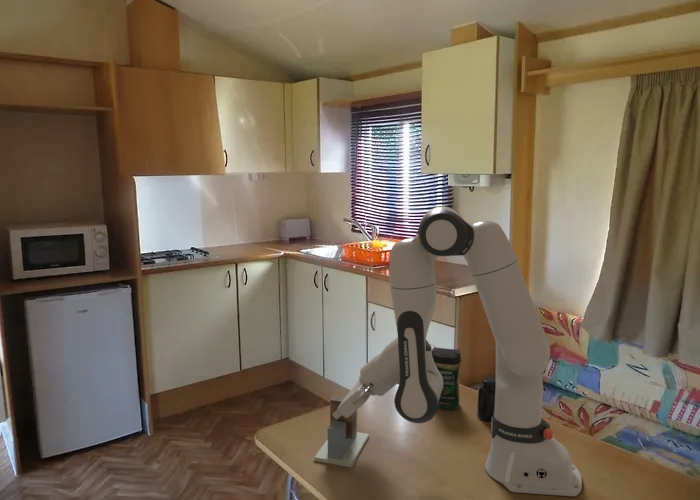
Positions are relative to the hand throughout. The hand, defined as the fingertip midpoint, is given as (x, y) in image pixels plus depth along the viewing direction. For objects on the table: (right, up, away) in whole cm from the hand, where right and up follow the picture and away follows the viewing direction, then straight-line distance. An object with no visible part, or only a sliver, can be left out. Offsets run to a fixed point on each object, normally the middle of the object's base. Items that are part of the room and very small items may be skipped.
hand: (340, 408), depth 143 cm
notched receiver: (+1, -11, +2) cm, 11 cm away
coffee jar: (+32, -7, +28) cm, 43 cm away
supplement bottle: (+44, -9, +20) cm, 49 cm away
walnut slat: (+1, -7, +1) cm, 7 cm away
